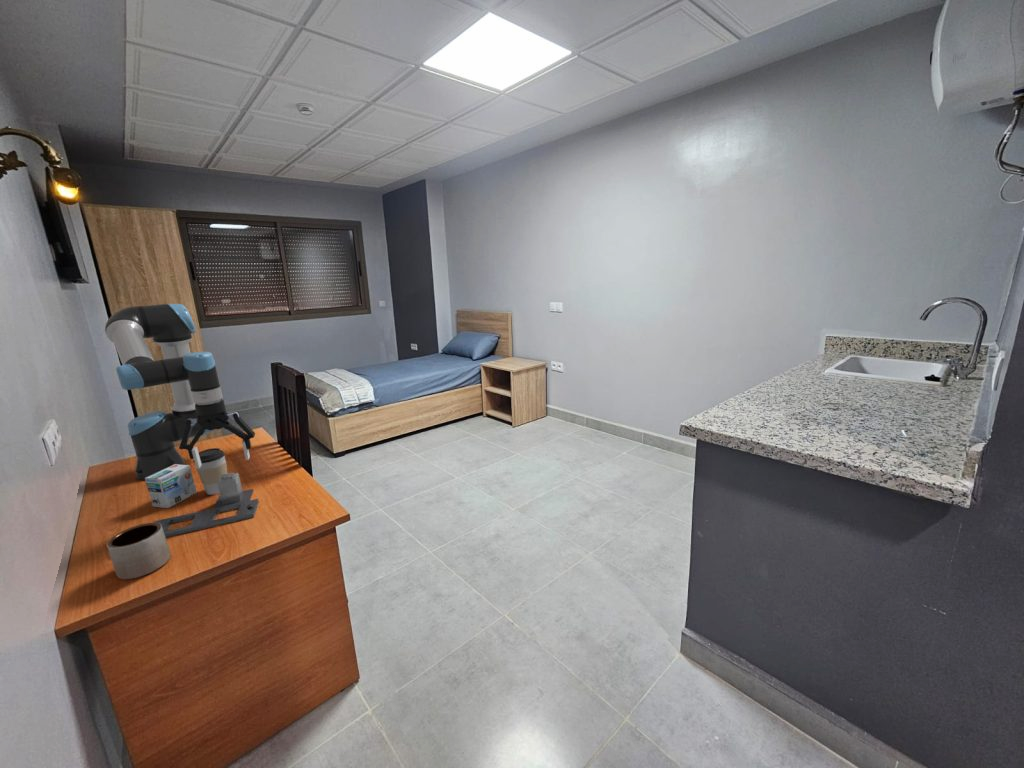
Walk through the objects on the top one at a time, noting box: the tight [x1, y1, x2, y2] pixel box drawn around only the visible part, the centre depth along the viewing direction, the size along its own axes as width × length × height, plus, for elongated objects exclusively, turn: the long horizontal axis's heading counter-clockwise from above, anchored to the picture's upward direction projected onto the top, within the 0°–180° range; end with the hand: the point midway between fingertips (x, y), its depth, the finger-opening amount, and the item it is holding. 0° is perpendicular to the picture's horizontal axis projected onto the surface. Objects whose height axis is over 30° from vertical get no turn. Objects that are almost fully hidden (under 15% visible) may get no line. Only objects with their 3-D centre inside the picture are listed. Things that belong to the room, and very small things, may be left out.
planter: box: [106, 522, 172, 580], centre depth 106 cm, size 11×11×10 cm
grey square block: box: [217, 472, 244, 505], centre depth 137 cm, size 5×5×9 cm
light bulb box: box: [144, 464, 198, 509], centre depth 139 cm, size 11×7×11 cm, turn 168°
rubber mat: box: [213, 488, 254, 508], centre depth 138 cm, size 10×10×1 cm
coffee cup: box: [193, 447, 229, 496], centre depth 144 cm, size 9×9×15 cm
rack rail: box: [152, 498, 260, 538], centre depth 127 cm, size 10×28×2 cm, turn 114°
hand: (224, 462), depth 135 cm, fingers open, 13 cm apart
